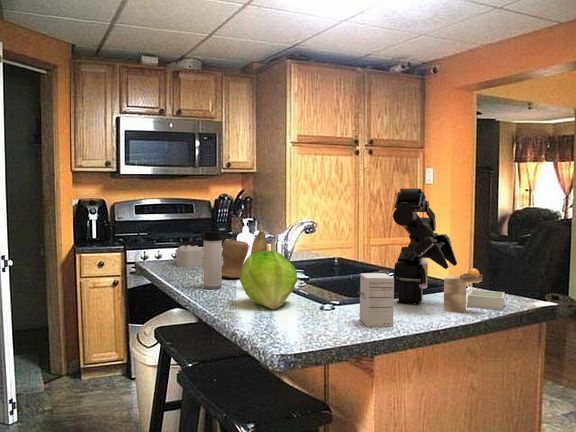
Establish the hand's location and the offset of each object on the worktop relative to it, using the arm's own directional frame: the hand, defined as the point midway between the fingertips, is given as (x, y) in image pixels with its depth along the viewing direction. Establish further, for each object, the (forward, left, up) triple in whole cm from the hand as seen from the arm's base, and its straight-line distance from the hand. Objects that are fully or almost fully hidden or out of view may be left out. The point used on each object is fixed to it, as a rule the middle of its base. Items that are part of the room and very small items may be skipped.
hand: (451, 266), depth 153 cm
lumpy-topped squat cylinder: (-120, +42, -13) cm, 128 cm away
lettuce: (-51, -17, -13) cm, 55 cm away
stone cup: (-86, +21, -13) cm, 89 cm away
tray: (+9, +11, -13) cm, 19 cm away
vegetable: (-65, +4, -13) cm, 66 cm away
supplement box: (-16, -25, -13) cm, 32 cm away
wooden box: (+3, 0, -13) cm, 13 cm away
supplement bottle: (-15, +31, -13) cm, 37 cm away
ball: (+6, -1, -2) cm, 6 cm away
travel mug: (-80, -2, -13) cm, 81 cm away
